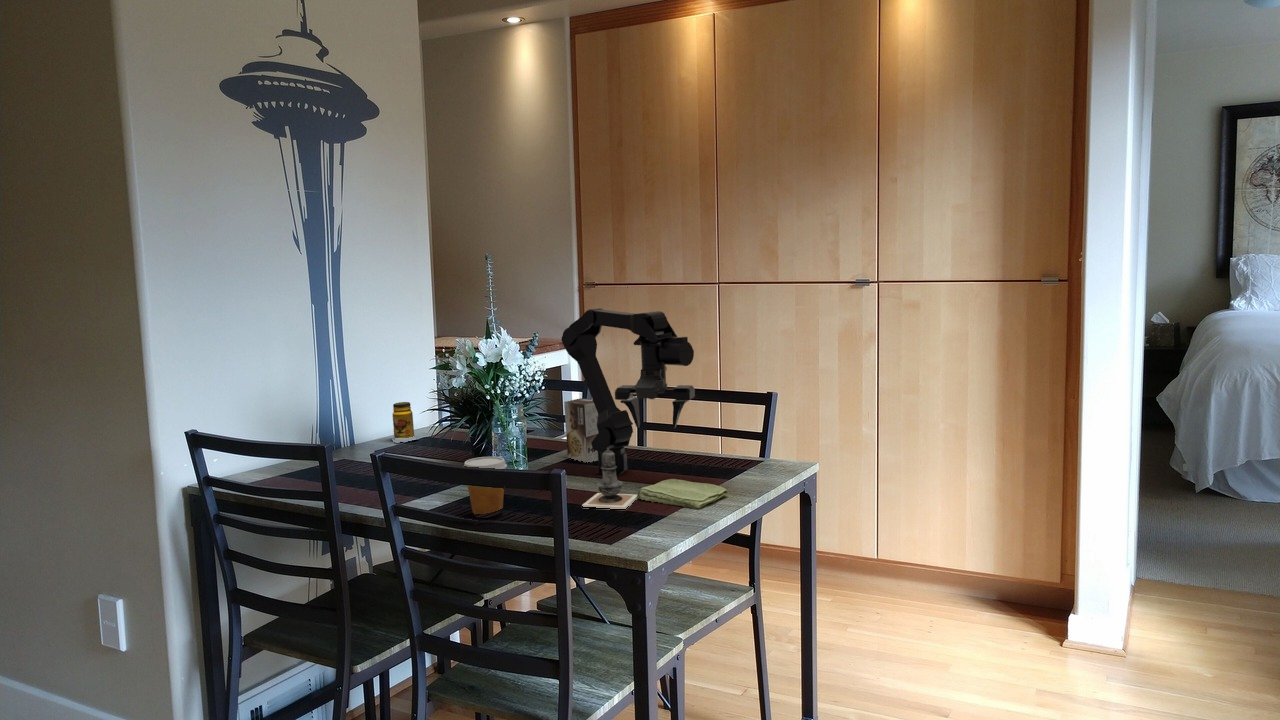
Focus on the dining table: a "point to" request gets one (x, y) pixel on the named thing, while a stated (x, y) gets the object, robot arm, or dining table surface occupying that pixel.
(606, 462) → the salt shaker
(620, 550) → the dining table surface
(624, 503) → the coaster
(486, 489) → the disposable coffee cup
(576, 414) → the coffee box
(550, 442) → the dining table surface
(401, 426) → the condiment
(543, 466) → the dining table surface
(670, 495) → the washcloth
